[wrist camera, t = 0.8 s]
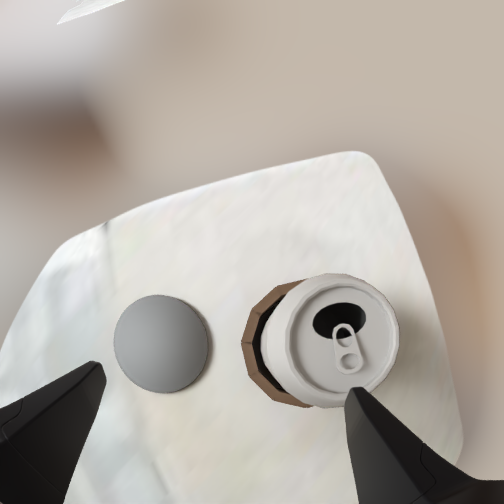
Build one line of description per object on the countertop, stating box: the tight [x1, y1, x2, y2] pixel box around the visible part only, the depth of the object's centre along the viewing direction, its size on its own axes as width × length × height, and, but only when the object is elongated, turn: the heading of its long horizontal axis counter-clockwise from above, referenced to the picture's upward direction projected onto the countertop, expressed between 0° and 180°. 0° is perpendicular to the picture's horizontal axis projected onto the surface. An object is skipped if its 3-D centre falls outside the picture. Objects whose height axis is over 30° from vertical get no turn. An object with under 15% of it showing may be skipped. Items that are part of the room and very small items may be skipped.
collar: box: [241, 279, 313, 408], centre depth 22 cm, size 10×10×3 cm
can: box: [260, 273, 400, 408], centre depth 18 cm, size 8×8×12 cm
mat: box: [114, 295, 208, 393], centre depth 23 cm, size 9×9×1 cm
